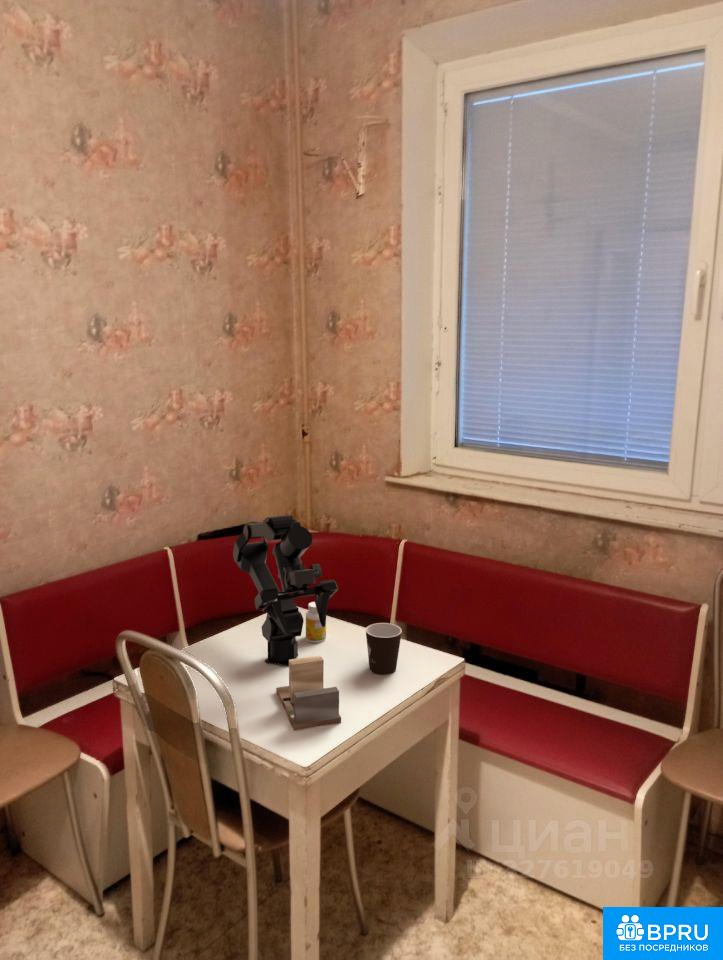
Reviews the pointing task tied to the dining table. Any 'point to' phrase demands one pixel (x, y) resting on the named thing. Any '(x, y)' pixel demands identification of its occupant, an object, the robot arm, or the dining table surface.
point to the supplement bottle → (314, 625)
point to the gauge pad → (305, 675)
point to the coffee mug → (383, 647)
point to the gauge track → (311, 707)
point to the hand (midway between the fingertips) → (305, 630)
